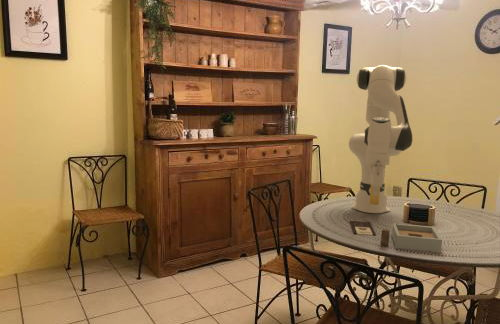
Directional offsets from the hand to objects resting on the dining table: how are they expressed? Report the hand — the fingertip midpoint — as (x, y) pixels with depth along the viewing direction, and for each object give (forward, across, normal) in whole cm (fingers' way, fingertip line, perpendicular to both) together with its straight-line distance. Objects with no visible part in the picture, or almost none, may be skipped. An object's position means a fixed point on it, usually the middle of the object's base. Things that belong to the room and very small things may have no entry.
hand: (374, 193), depth 166 cm
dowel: (+4, 0, 0) cm, 4 cm away
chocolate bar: (+20, +14, +3) cm, 24 cm away
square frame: (+19, +1, -17) cm, 25 cm away
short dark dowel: (+19, -5, -5) cm, 20 cm away
